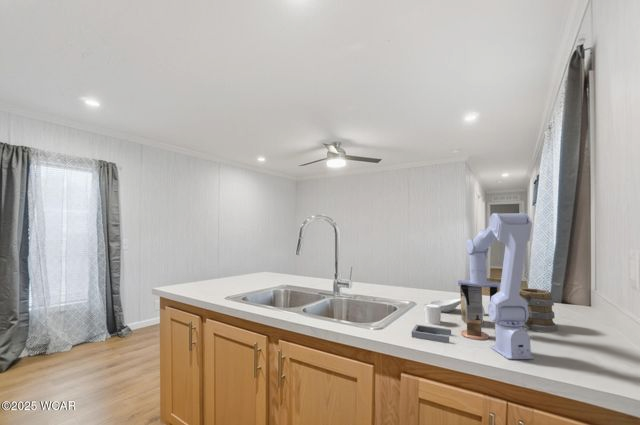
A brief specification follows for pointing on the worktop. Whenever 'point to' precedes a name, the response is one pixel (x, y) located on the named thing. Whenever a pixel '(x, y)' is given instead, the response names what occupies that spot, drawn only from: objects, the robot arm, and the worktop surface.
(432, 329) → the grey shallow rectangular tray
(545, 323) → the tankard
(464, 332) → the peach dome
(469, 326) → the block
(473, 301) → the coffee box
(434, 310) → the white cylinder
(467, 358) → the worktop surface
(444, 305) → the spoon rest
